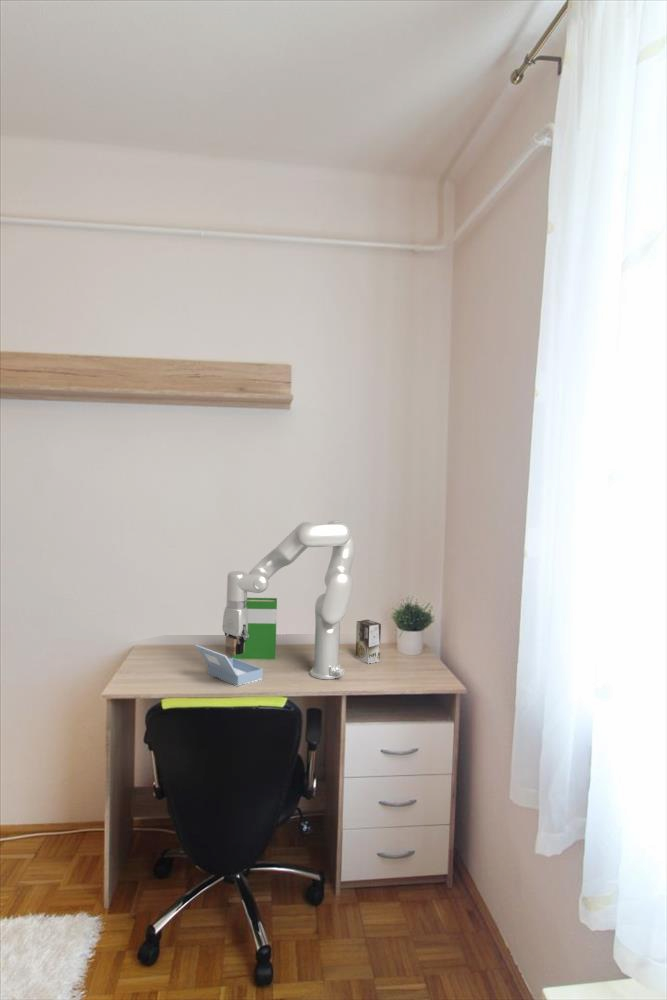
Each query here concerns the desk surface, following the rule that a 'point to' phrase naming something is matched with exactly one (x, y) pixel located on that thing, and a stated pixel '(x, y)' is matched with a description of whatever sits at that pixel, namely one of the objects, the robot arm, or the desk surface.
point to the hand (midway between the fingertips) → (234, 651)
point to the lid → (216, 660)
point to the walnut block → (231, 645)
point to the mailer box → (238, 672)
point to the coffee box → (368, 641)
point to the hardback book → (260, 629)
